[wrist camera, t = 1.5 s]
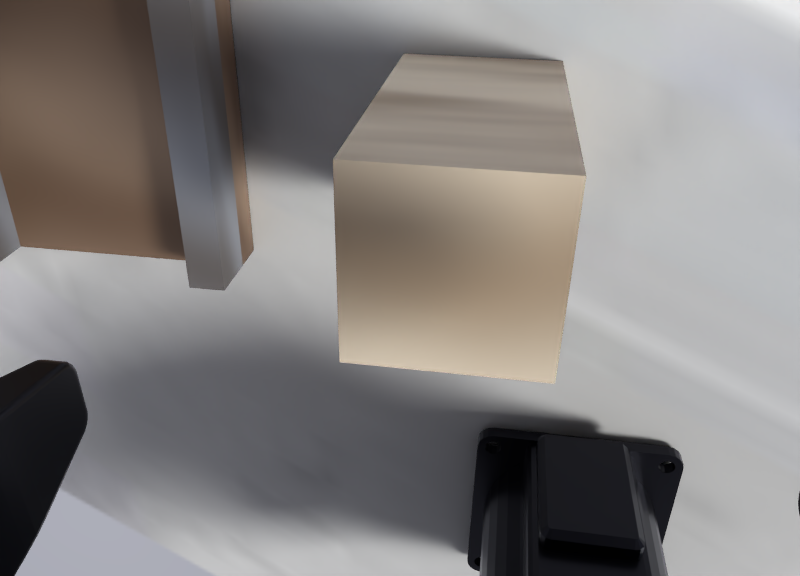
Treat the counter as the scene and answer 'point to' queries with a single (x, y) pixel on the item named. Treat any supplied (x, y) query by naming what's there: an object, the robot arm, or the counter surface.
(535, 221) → the block
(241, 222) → the track
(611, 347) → the counter surface
